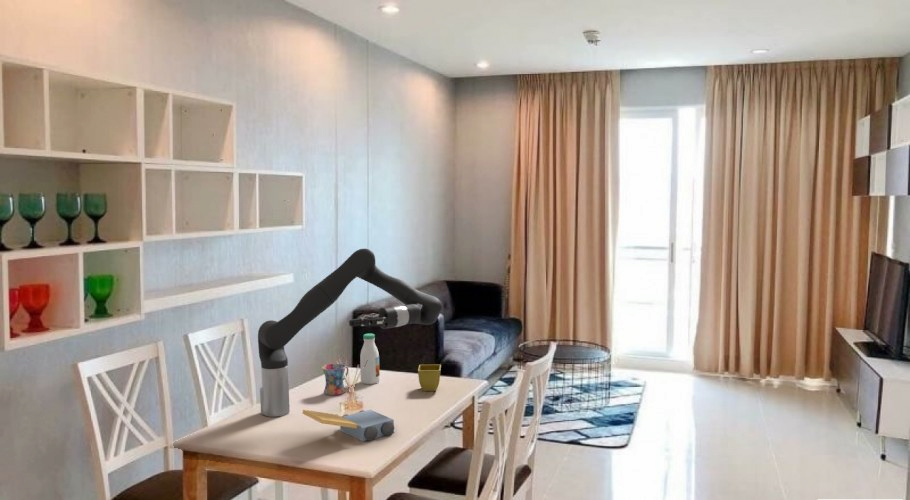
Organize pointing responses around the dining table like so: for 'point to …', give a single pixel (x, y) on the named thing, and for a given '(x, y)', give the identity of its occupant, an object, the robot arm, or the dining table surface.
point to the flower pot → (429, 377)
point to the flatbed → (369, 425)
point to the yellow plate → (330, 419)
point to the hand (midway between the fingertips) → (350, 323)
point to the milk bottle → (369, 361)
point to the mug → (334, 378)
